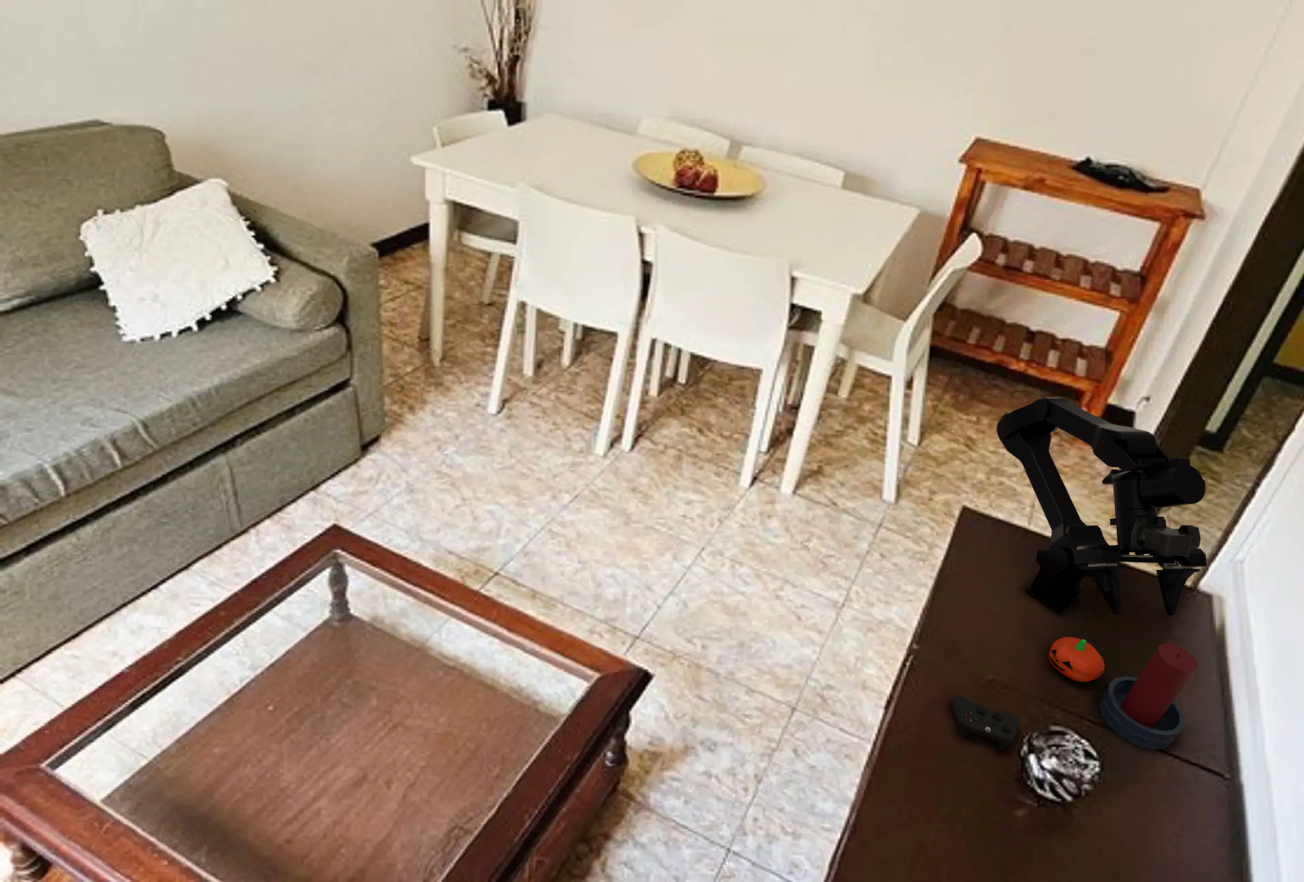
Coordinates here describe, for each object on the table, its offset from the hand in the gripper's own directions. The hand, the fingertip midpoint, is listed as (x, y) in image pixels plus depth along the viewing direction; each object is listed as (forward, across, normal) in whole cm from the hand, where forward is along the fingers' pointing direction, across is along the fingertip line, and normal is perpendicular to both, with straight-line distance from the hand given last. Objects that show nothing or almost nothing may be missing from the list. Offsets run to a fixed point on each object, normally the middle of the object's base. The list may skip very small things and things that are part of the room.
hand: (1144, 614), depth 131 cm
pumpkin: (+9, -6, +10) cm, 15 cm away
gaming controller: (+17, -26, +2) cm, 31 cm away
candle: (+15, 0, +3) cm, 15 cm away
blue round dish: (+16, 0, +3) cm, 16 cm away
